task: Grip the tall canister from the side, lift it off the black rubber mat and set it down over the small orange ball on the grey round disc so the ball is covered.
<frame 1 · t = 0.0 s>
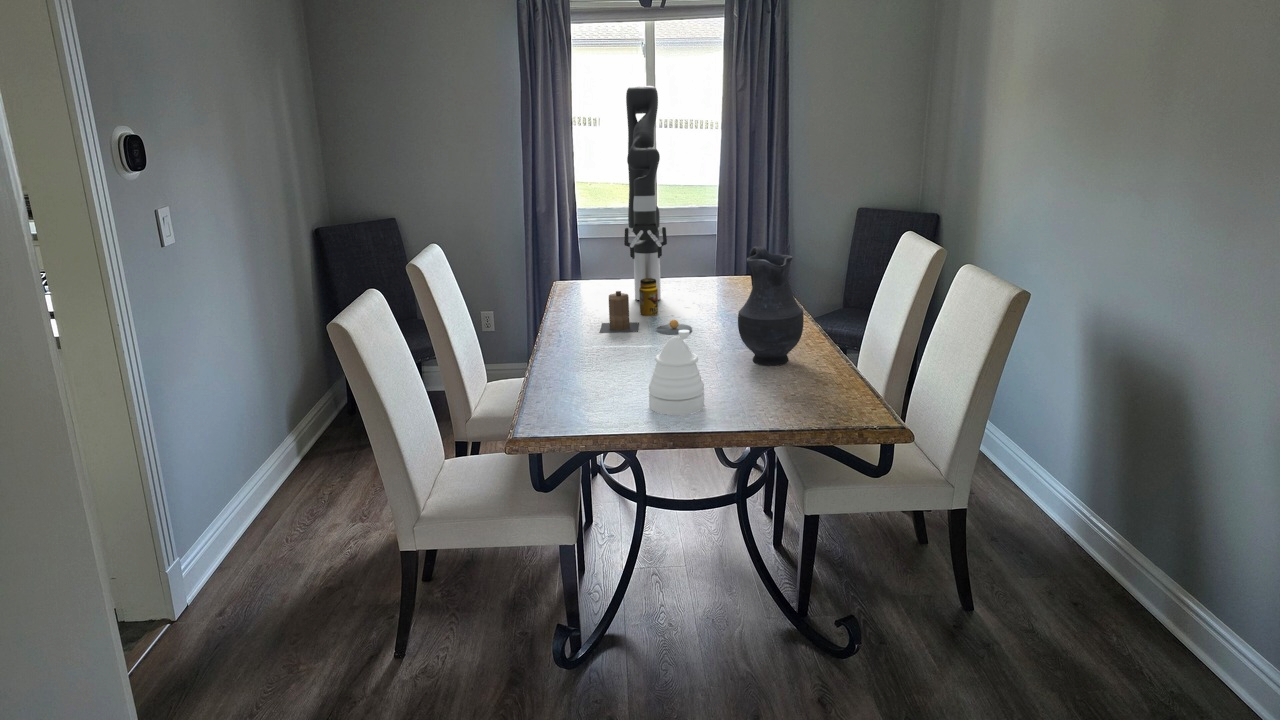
hand: (646, 258, 285), 17 cm above the table, tool pointing down, fingers open, 8 cm apart
pitcher: (767, 359, 230), on the table
grey round disc: (674, 330, 260), on the table
honey pot: (676, 406, 197), on the table
mat: (619, 328, 265), on the table
canister: (619, 327, 265), resting on mat
ball: (674, 324, 260), point 2 cm above the table, touching grey round disc
condiment: (646, 315, 281), on the table
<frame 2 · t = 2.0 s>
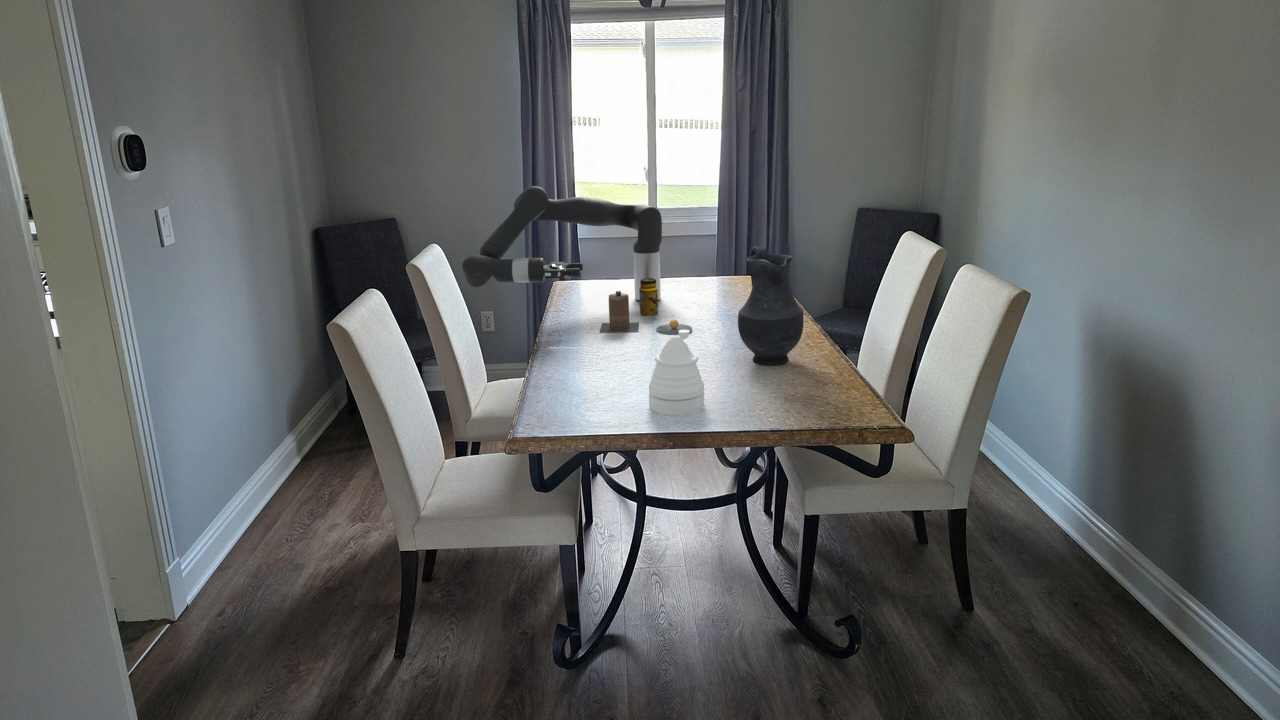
hand: (581, 269, 260), 19 cm above the table, tool horizontal, fingers open, 8 cm apart
nothing on the table moved.
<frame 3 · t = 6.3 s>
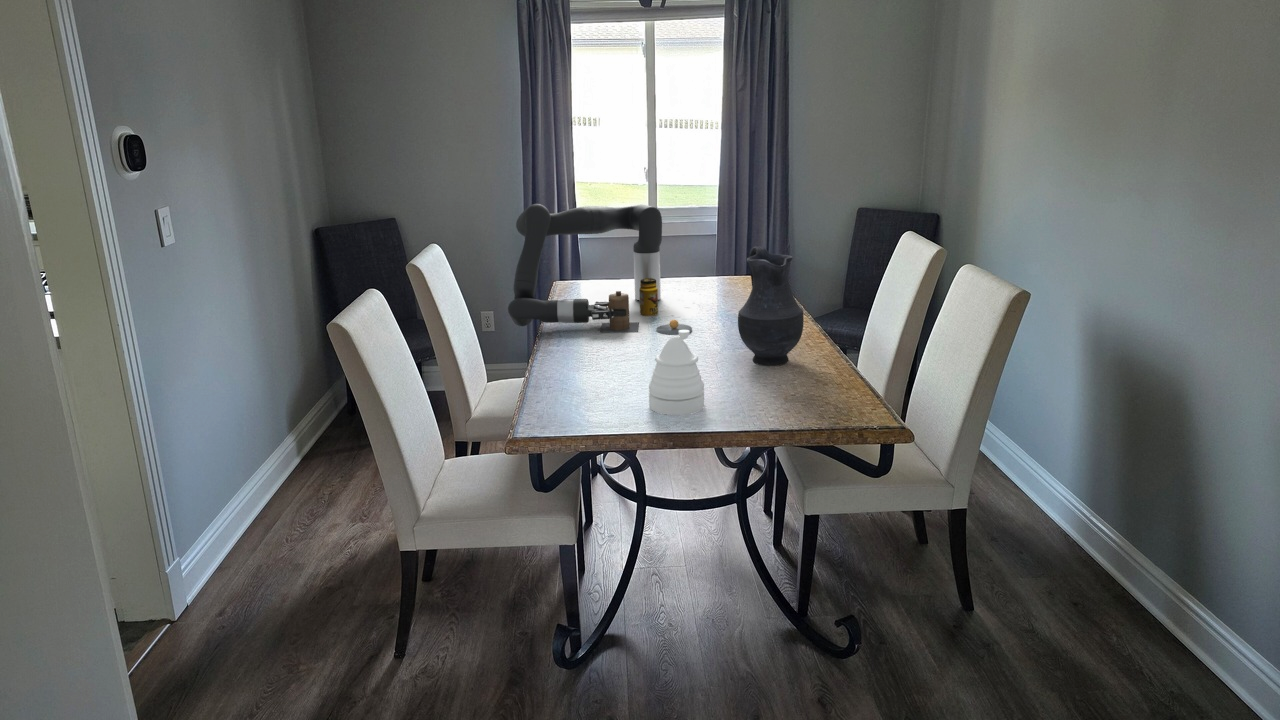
hand: (626, 309, 263), 6 cm above the table, tool horizontal, fingers closed on canister, 6 cm apart
canister: (619, 327, 265), resting on mat, touching gripper
everything else where it was.
when the fingers open (8 cm above the table, at t = 12.1 s): canister drops 1 cm, resting on grey round disc.
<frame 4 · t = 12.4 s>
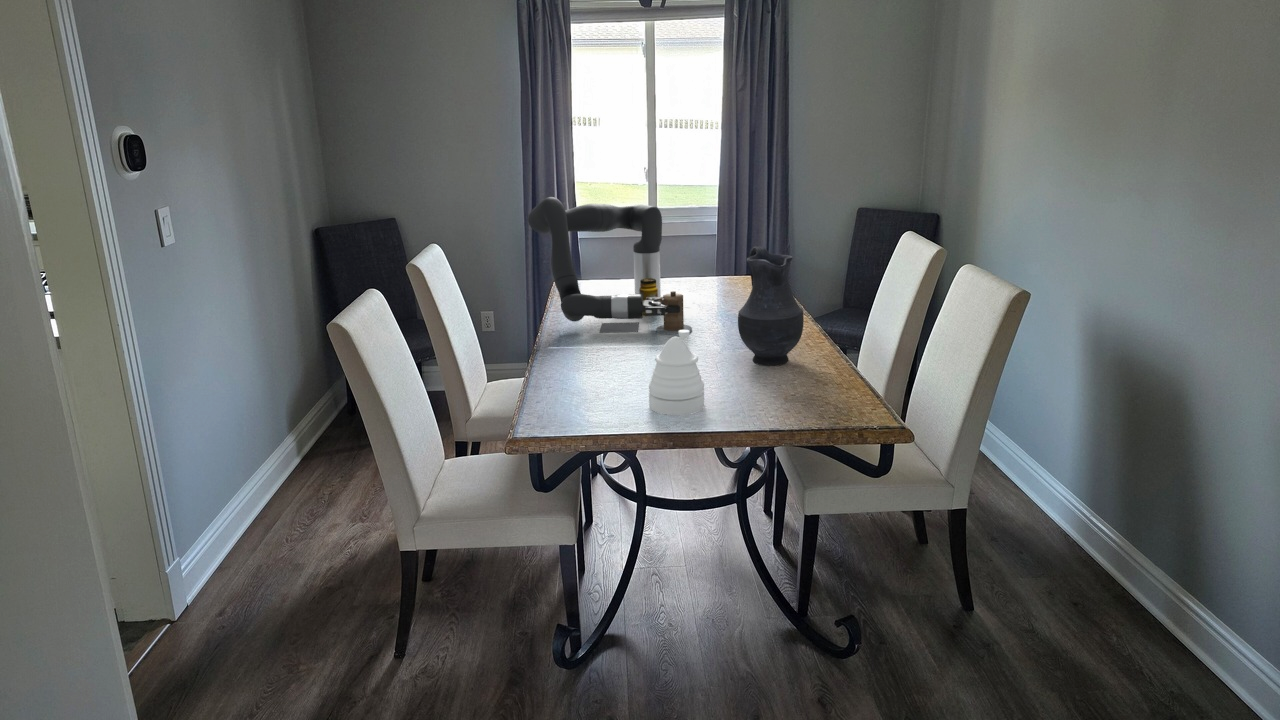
hand: (679, 305, 258), 8 cm above the table, tool horizontal, fingers open, 8 cm apart
canister: (673, 328, 260), point 1 cm above the table, touching grey round disc
everything else where it was.
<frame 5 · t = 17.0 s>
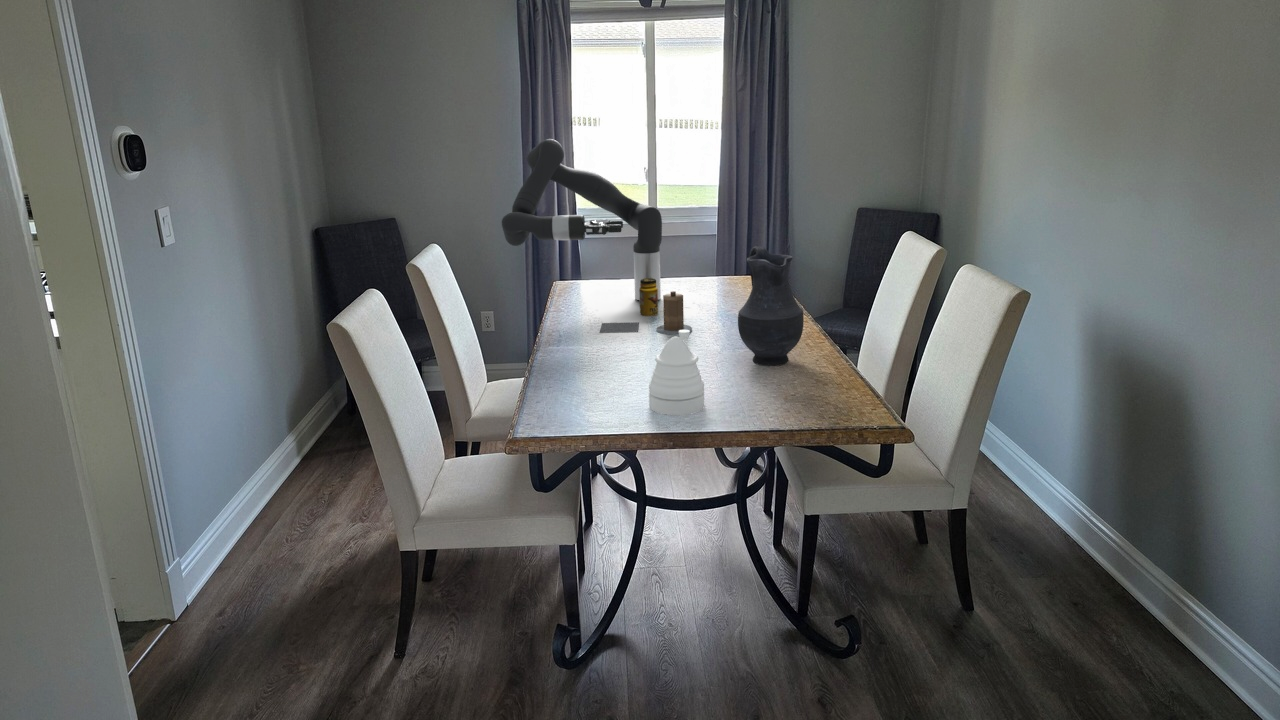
hand: (622, 226, 255), 32 cm above the table, tool horizontal, fingers open, 8 cm apart
nothing on the table moved.
at the end: canister 0.1 cm from the ball (horizontally); canister tilted 0°; canister point 0.8 cm above the table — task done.
